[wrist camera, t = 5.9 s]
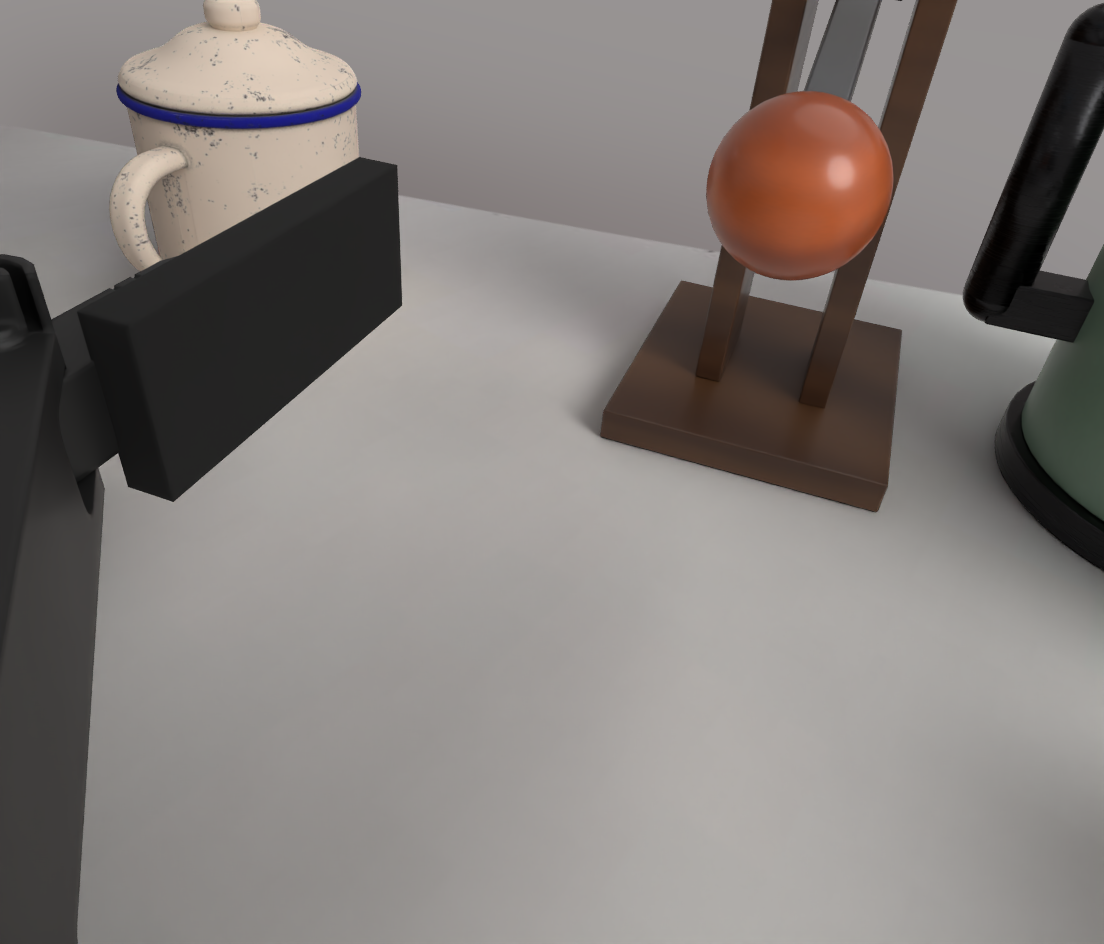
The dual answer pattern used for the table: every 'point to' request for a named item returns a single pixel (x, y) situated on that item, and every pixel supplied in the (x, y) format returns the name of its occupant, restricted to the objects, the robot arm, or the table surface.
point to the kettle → (1052, 303)
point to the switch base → (783, 330)
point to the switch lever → (806, 166)
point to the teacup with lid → (226, 128)
